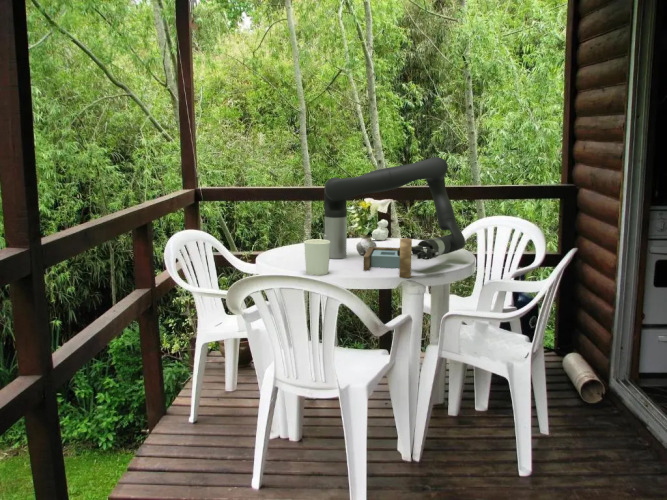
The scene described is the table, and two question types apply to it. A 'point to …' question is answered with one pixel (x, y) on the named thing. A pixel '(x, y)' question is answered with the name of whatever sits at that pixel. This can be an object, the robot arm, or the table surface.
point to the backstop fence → (370, 251)
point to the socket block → (385, 259)
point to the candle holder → (317, 256)
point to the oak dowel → (405, 258)
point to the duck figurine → (381, 231)
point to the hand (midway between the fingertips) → (408, 254)
